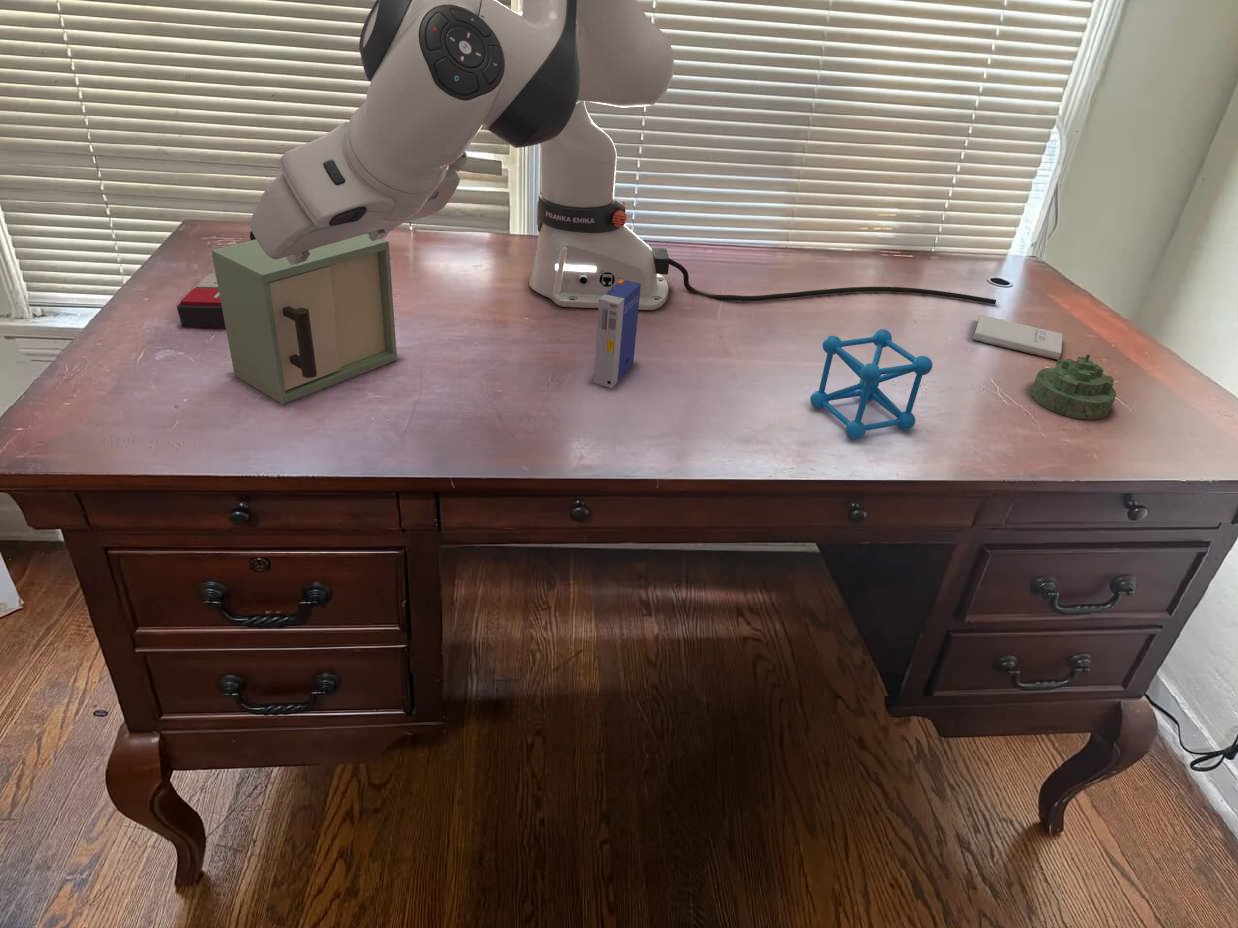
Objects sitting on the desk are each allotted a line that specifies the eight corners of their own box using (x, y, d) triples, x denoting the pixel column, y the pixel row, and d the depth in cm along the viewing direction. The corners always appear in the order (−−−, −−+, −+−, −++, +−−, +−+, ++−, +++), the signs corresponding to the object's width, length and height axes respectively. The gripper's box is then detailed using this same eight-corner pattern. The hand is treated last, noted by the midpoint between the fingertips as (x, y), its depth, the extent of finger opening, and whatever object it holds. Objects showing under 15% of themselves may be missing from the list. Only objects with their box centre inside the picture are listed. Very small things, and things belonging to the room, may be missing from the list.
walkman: (614, 360, 118) (621, 276, 111) (633, 364, 117) (641, 280, 111) (591, 383, 112) (597, 296, 105) (611, 388, 111) (618, 301, 104)
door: (360, 380, 105) (350, 275, 98) (304, 402, 100) (289, 293, 92) (338, 368, 107) (326, 264, 100) (282, 389, 102) (265, 281, 95)
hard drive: (977, 323, 139) (1059, 341, 135) (972, 341, 133) (1058, 361, 129) (980, 313, 138) (1063, 332, 134) (975, 331, 132) (1062, 351, 128)
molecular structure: (851, 444, 104) (870, 370, 98) (805, 404, 111) (820, 333, 106) (916, 431, 108) (939, 359, 102) (867, 394, 115) (886, 325, 110)
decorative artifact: (1089, 387, 122) (1020, 381, 122) (1109, 342, 119) (1037, 335, 118) (1121, 422, 114) (1046, 416, 114) (1143, 375, 110) (1066, 368, 110)
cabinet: (397, 360, 113) (388, 241, 104) (282, 404, 101) (262, 275, 93) (349, 335, 118) (337, 220, 109) (234, 375, 106) (210, 249, 98)
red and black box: (205, 271, 123) (311, 273, 124) (212, 299, 126) (316, 301, 126) (173, 301, 114) (288, 303, 114) (181, 331, 116) (294, 333, 117)
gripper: (457, 118, 83) (401, 196, 93) (264, 156, 70) (224, 242, 80) (491, 175, 83) (431, 246, 94) (305, 224, 70) (260, 301, 80)
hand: (334, 245), depth 87 cm, fingers open, 8 cm apart
